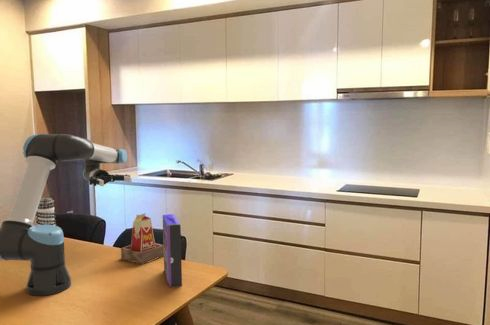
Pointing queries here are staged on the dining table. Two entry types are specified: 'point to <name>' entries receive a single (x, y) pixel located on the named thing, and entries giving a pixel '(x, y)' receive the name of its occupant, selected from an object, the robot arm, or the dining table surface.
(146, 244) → the milk carton
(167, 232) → the cereal box
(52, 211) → the spiral seashell
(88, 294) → the dining table surface
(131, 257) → the open box
